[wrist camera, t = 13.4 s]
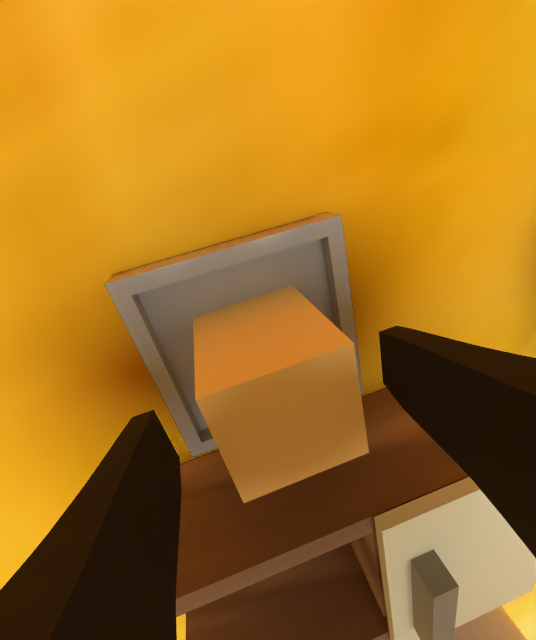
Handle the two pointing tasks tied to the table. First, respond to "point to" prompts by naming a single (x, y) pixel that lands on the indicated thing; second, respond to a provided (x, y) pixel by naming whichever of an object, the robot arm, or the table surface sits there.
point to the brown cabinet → (301, 539)
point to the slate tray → (227, 301)
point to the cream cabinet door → (448, 562)
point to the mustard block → (277, 390)
